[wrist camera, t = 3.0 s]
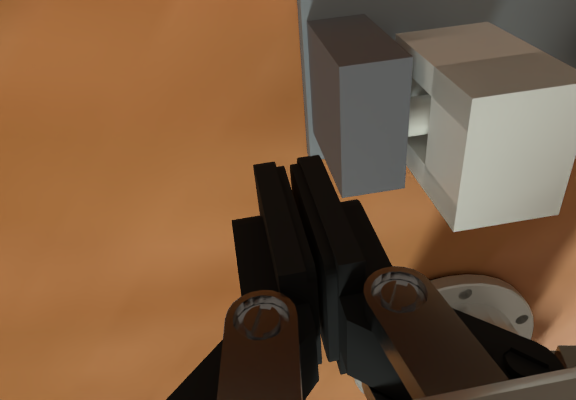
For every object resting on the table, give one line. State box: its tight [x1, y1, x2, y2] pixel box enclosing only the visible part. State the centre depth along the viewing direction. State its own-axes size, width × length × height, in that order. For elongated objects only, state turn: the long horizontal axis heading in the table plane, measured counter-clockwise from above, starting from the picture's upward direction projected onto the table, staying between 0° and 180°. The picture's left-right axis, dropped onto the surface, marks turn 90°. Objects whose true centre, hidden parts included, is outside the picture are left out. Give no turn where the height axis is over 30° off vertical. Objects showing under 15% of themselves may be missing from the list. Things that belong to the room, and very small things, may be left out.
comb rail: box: [297, 0, 576, 198], centre depth 20 cm, size 15×8×7 cm, turn 95°
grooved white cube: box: [395, 22, 576, 232], centre depth 17 cm, size 4×5×6 cm
